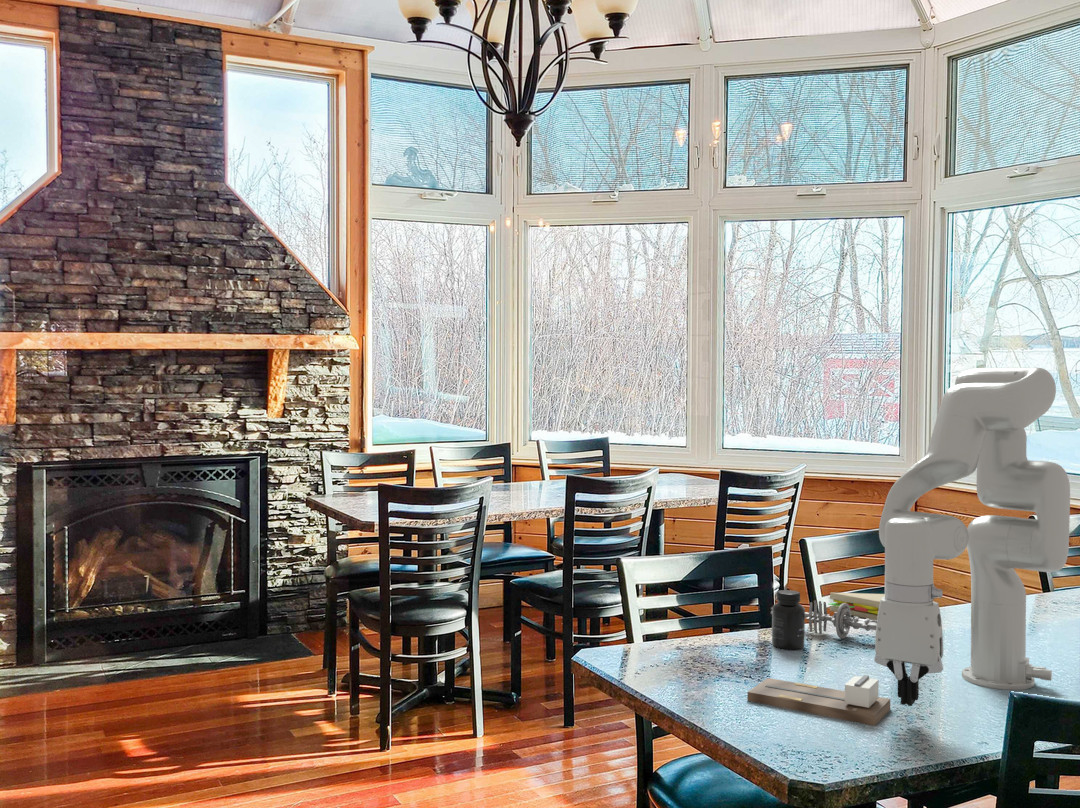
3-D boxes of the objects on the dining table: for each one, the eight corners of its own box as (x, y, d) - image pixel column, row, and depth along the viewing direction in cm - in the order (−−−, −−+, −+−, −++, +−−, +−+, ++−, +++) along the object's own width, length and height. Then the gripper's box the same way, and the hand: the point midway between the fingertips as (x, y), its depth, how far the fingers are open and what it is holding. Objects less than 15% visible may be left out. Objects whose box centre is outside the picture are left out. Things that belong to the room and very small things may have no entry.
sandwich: (845, 605, 251) (845, 585, 251) (922, 616, 238) (922, 596, 238) (820, 615, 239) (820, 595, 239) (898, 628, 227) (899, 606, 226)
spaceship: (918, 656, 201) (919, 618, 201) (764, 629, 223) (764, 595, 223) (931, 648, 207) (931, 611, 207) (779, 623, 230) (779, 590, 229)
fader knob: (878, 698, 166) (878, 677, 166) (868, 707, 161) (869, 686, 161) (854, 694, 168) (854, 673, 168) (844, 703, 163) (844, 682, 163)
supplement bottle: (808, 651, 204) (808, 595, 204) (775, 651, 205) (776, 595, 204) (800, 643, 211) (800, 588, 211) (768, 643, 211) (769, 588, 211)
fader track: (890, 710, 167) (890, 698, 167) (874, 727, 159) (874, 714, 159) (767, 688, 179) (767, 677, 179) (747, 703, 171) (747, 691, 171)
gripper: (961, 594, 159) (960, 705, 159) (868, 584, 167) (868, 689, 168) (952, 602, 153) (951, 718, 153) (856, 591, 161) (856, 701, 162)
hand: (908, 702), depth 160 cm, fingers closed
